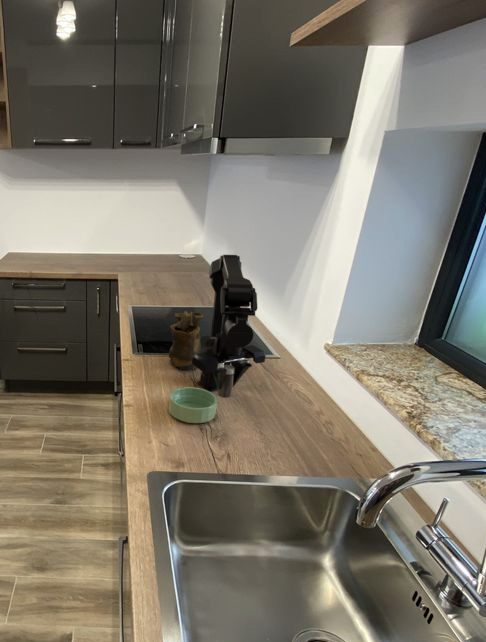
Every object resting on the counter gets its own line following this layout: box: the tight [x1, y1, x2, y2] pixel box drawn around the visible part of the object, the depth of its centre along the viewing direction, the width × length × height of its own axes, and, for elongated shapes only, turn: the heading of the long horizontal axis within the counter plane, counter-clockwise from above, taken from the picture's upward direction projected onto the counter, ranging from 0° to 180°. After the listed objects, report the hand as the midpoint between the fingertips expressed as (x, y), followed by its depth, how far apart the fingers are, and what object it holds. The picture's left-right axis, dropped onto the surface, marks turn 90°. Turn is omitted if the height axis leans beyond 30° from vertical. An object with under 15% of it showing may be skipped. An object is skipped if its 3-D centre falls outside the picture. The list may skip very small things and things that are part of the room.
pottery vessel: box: [168, 310, 204, 371], centre depth 156 cm, size 25×11×20 cm, turn 164°
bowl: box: [168, 386, 218, 424], centre depth 127 cm, size 13×13×5 cm
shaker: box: [217, 364, 235, 399], centre depth 116 cm, size 4×4×8 cm
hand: (225, 387), depth 117 cm, fingers closed on shaker, 3 cm apart
